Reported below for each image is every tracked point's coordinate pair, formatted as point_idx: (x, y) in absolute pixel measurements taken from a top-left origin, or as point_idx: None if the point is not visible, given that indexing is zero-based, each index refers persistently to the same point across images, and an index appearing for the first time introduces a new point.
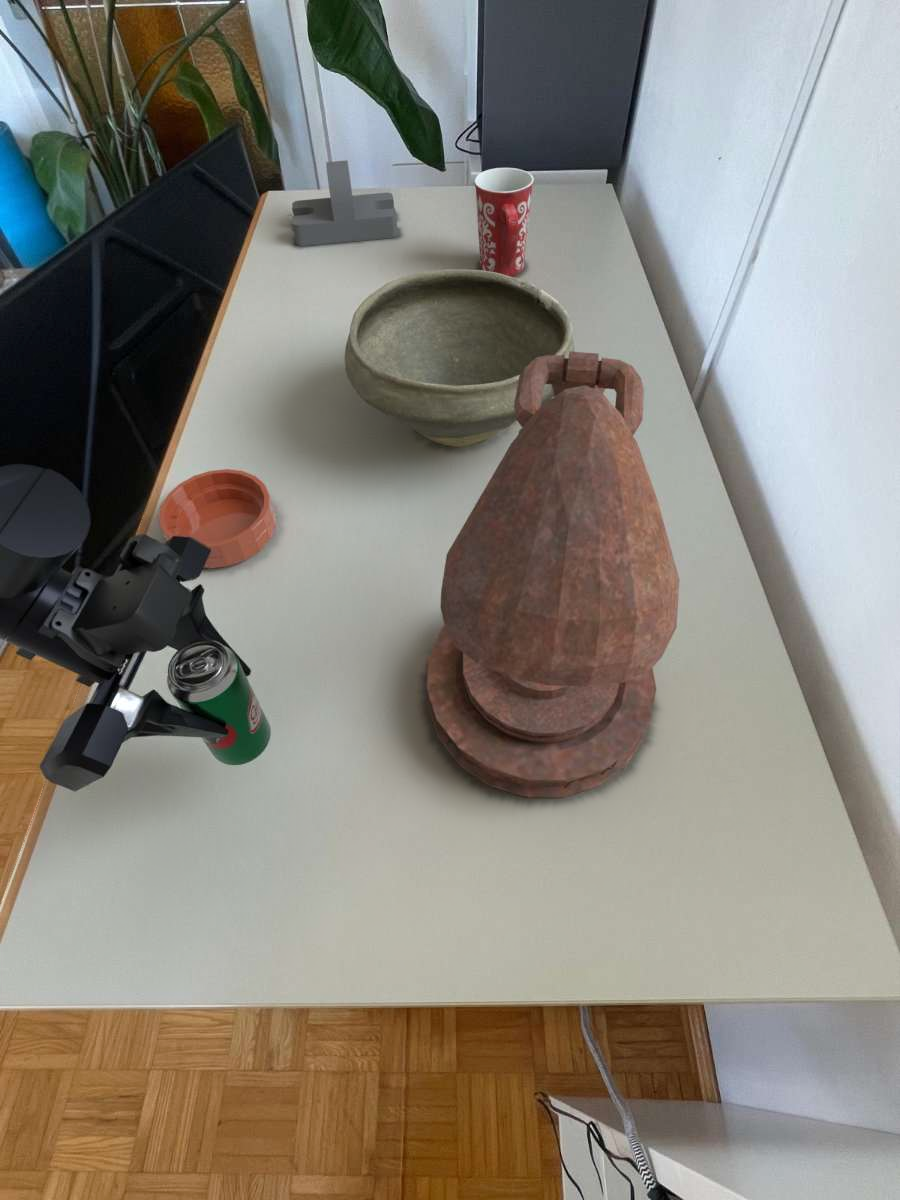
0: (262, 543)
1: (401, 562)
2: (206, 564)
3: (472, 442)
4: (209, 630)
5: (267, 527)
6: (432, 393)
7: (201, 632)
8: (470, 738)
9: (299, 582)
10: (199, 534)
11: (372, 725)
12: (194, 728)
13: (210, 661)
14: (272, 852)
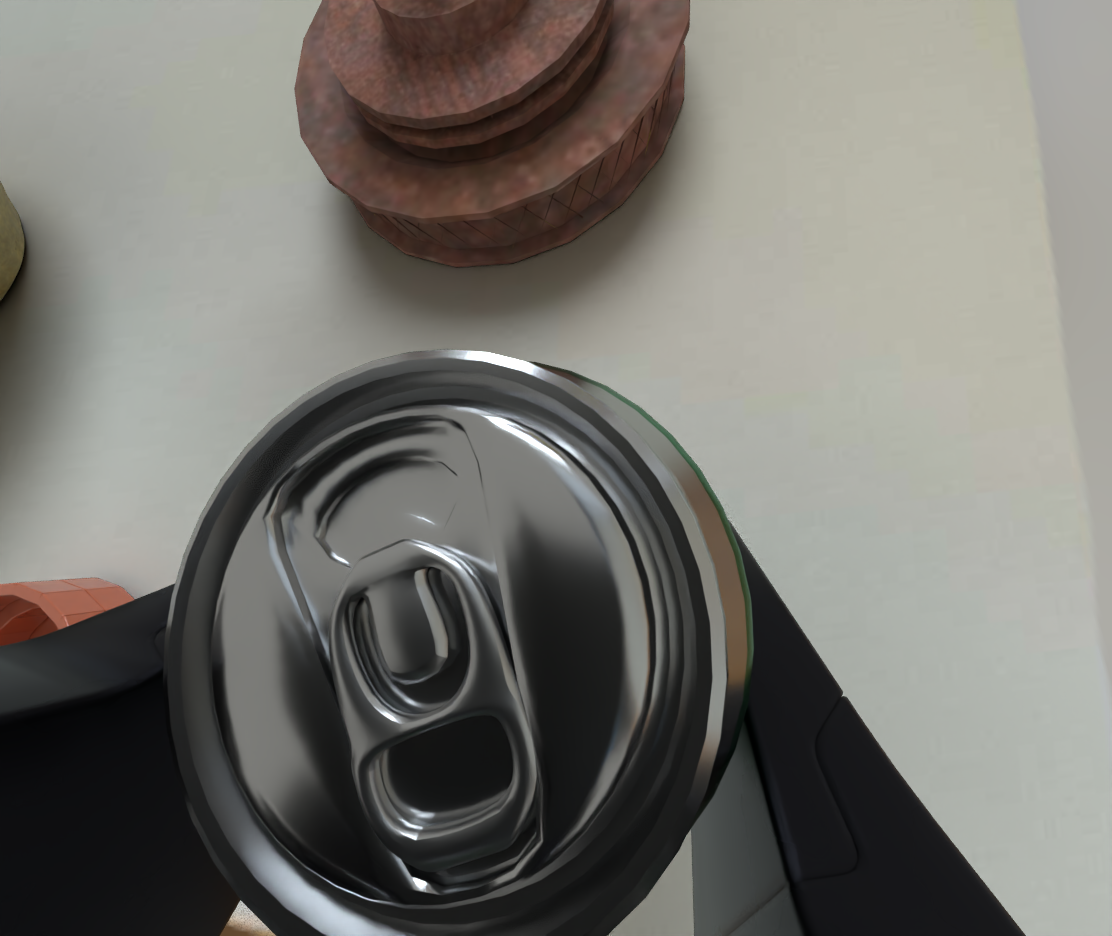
0: (123, 599)
1: (224, 338)
2: None
3: (12, 229)
4: (159, 615)
5: (81, 588)
6: None
7: (143, 664)
8: (599, 125)
9: None
10: None
11: (536, 355)
12: (813, 651)
13: (388, 528)
14: (787, 513)
